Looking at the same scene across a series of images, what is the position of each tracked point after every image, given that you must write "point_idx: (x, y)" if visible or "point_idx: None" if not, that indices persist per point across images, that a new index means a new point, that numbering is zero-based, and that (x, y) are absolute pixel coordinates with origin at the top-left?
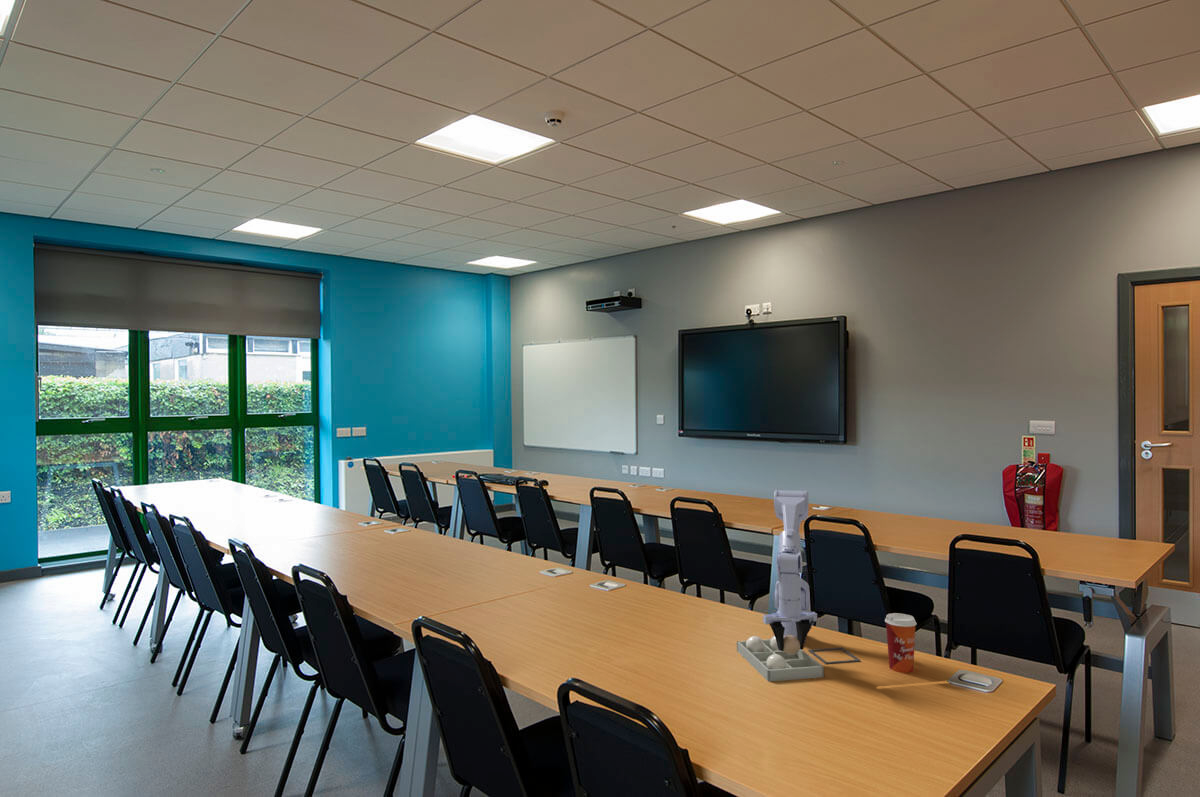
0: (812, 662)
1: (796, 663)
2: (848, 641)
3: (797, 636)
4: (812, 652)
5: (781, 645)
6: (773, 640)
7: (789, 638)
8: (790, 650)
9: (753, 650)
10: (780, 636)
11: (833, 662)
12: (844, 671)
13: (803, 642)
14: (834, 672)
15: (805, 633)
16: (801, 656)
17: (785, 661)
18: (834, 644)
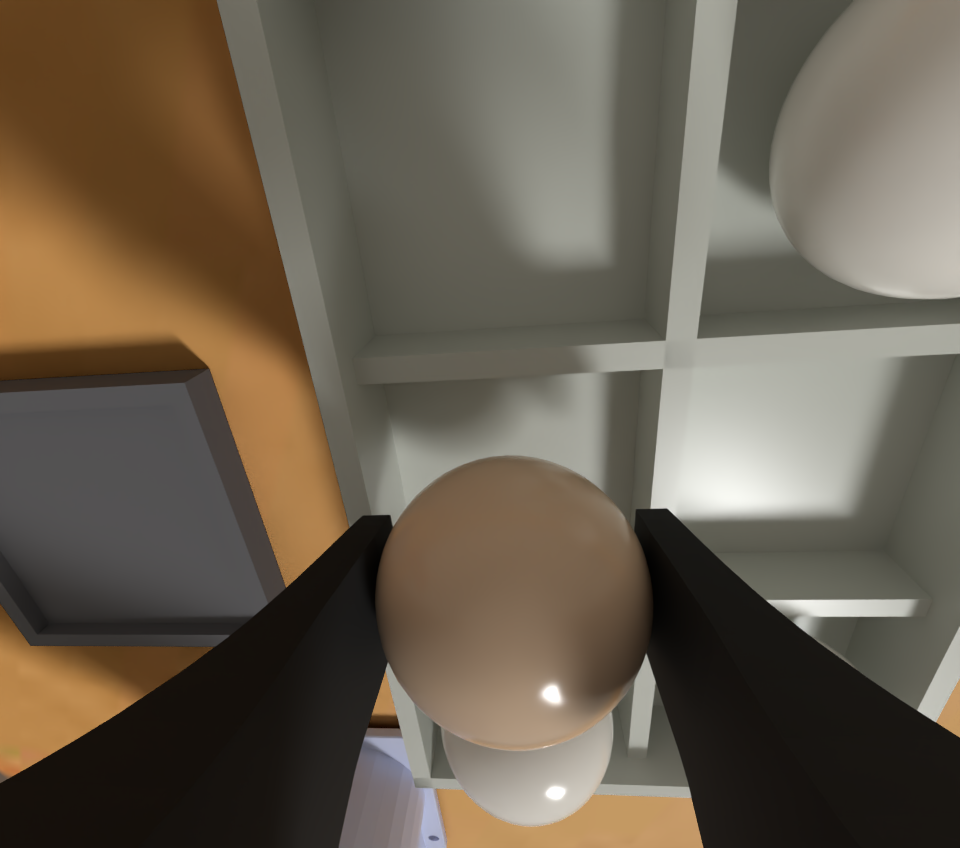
0: (327, 250)
1: (510, 338)
2: (15, 730)
3: (364, 716)
4: (263, 602)
5: (702, 548)
6: (603, 749)
7: (561, 643)
8: (561, 469)
9: (834, 652)
10: (825, 678)
11: (108, 387)
12: (40, 242)
13: (323, 567)
14: (141, 227)
15: (201, 695)
16: (391, 502)
17: (883, 34)
18: (101, 711)
